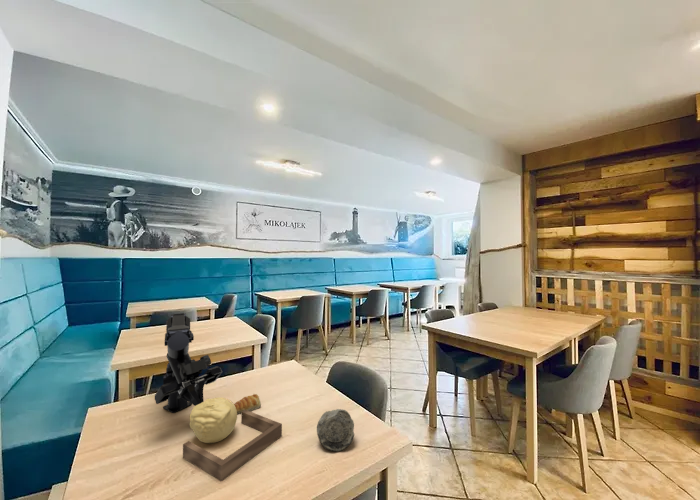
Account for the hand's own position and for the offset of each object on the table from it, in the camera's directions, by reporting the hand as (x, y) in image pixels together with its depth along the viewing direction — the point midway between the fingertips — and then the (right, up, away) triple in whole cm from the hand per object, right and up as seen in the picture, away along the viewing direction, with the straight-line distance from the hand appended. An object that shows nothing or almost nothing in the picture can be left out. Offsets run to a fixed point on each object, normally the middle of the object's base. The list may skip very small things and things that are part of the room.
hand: (201, 408), depth 89 cm
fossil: (+40, -7, -5) cm, 41 cm away
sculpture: (+5, -7, -3) cm, 9 cm away
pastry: (+9, -7, +13) cm, 18 cm away
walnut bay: (+12, -7, -7) cm, 15 cm away
